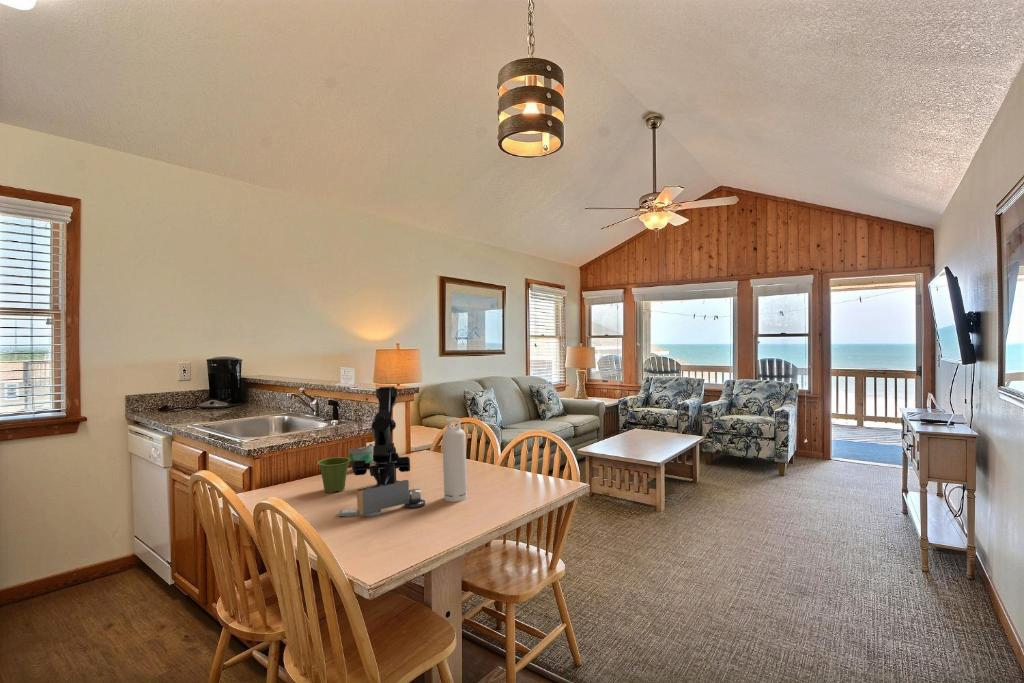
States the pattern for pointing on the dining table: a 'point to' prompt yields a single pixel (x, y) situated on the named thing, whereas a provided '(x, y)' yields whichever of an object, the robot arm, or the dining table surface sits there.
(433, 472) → the dining table surface
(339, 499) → the dining table surface
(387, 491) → the swing bar
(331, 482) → the plant pot
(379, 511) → the label plaque
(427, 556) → the dining table surface
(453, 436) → the bottle
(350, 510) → the label plaque
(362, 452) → the food container
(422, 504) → the pivot base
